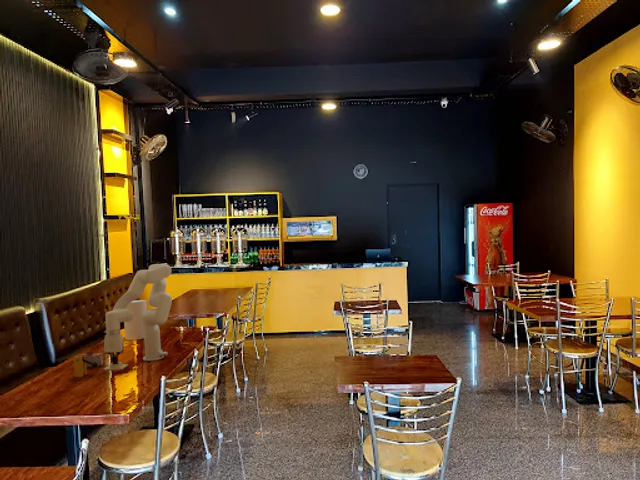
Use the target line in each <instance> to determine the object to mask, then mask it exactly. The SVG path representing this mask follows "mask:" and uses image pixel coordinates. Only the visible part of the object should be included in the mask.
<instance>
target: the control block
mask: <svg viewBox="0 0 640 480" xmlns="http://www.w3.org/2000/svg"><path fill="white" fill-rule="evenodd" d="M118 362H119V364H115V365H113V362H111V363H109V364H108V365H107V366H106V367H104V368H103V371H105V372H107V371H123V370H124V369H125V368H127V367H128V366H129V363H122V362H121V361H118Z"/></svg>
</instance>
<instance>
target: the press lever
mask: <svg viewBox="0 0 640 480" xmlns="http://www.w3.org/2000/svg"><path fill="white" fill-rule="evenodd" d="M78 355H79V356H80V354H78ZM83 358H84V357H82V360H83V362H86V363H88V364H91V365H92V367H91V368H94V369H96V368H98V367H99V366H98V363H97V362H93V363H92V362H90V361H88V360H85V359H83ZM97 366H98V367H97Z"/></svg>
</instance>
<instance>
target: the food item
mask: <svg viewBox="0 0 640 480" xmlns="http://www.w3.org/2000/svg"><path fill="white" fill-rule="evenodd" d="M84 354H85V355H86V360H88V361H90V362H92V363H93V362H97V363H98V366H97V367H96V368H99V367H101V366H104V364H103V356H104V352H99V353H98V352H97V353H96V352H95V351H92V350H91V351H88V352H87V353H84ZM86 368H93V367H92V365H91V364H88V363H86Z"/></svg>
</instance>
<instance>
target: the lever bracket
mask: <svg viewBox="0 0 640 480" xmlns="http://www.w3.org/2000/svg"><path fill="white" fill-rule="evenodd" d="M85 354H86V353H81V354H76V355H75V356H73V369H74V378H83V377H84V376H86V375H87V374H88V373H87V371H88V370H87V367H86V362H83V360H82V357H84V358H83V359H85V360H86V355H85ZM79 355H80V356H79Z"/></svg>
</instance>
